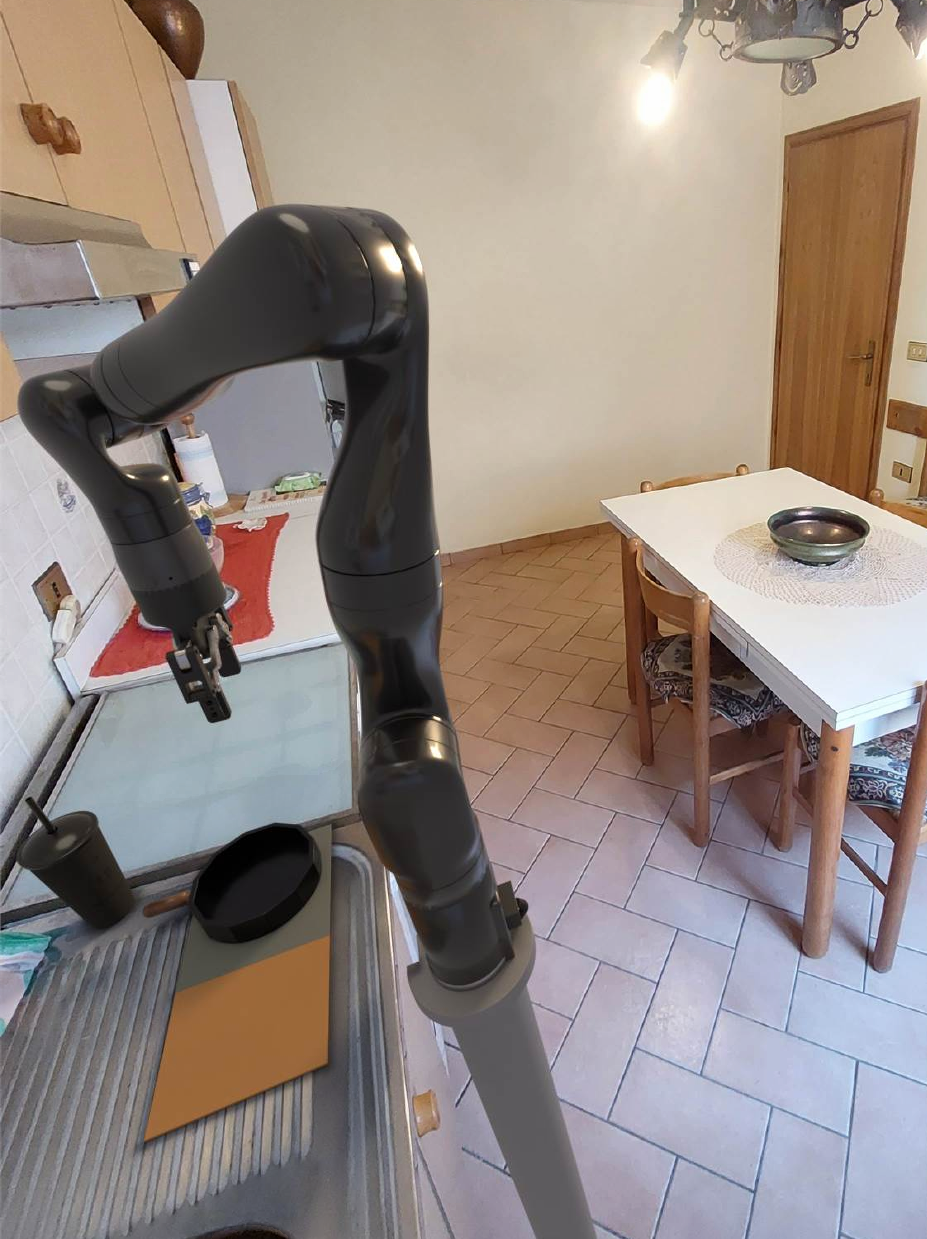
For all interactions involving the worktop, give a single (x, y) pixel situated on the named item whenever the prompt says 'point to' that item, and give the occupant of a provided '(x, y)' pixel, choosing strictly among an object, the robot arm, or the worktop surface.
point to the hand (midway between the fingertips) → (227, 695)
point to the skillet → (251, 884)
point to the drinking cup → (77, 866)
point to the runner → (247, 1013)
